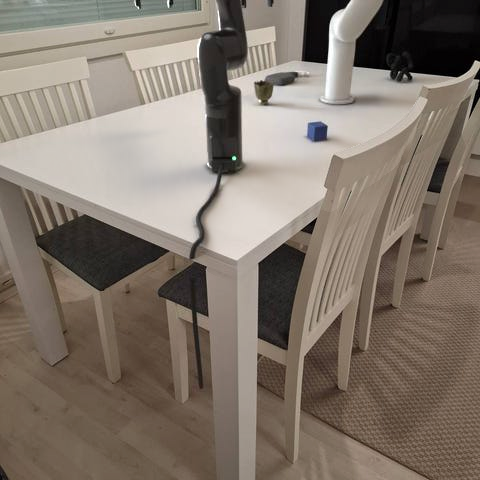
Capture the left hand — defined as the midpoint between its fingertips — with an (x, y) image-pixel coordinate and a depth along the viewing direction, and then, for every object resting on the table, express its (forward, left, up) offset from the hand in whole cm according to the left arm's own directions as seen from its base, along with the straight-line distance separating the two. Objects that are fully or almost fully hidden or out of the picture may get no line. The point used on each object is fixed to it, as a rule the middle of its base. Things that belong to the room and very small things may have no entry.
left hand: (154, 8), depth 126 cm
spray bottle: (+74, -42, -36) cm, 92 cm away
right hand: (+37, -28, -3) cm, 47 cm away
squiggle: (+71, -92, -36) cm, 122 cm away
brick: (-6, -48, -36) cm, 60 cm away
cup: (+33, -31, -36) cm, 57 cm away
